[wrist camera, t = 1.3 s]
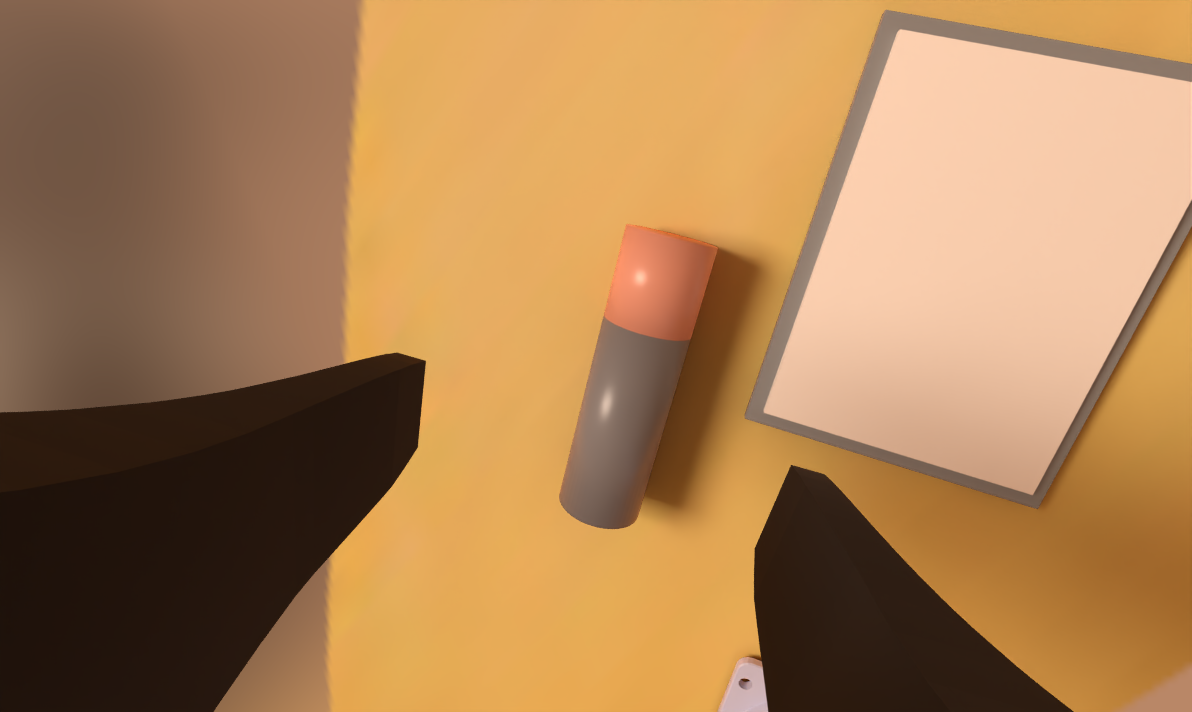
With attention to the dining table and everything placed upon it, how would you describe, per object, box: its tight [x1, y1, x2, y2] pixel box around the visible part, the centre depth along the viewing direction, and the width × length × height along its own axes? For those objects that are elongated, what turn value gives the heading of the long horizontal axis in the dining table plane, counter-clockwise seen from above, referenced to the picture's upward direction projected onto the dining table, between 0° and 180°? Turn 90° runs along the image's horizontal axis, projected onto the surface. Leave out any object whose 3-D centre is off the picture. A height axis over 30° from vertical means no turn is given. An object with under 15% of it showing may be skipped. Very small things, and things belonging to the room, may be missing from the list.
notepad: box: [745, 10, 1192, 509], centre depth 17 cm, size 13×10×1 cm
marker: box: [559, 224, 718, 529], centre depth 19 cm, size 10×3×3 cm, turn 166°
